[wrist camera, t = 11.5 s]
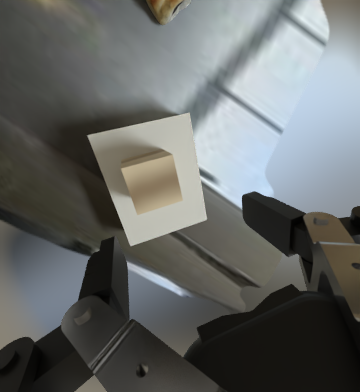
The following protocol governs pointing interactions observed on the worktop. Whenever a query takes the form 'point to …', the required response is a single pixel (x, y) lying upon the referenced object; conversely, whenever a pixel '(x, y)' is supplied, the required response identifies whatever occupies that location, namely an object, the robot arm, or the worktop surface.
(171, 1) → the pastry
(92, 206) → the worktop surface
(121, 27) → the worktop surface
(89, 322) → the robot arm
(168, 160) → the maple block
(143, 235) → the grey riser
